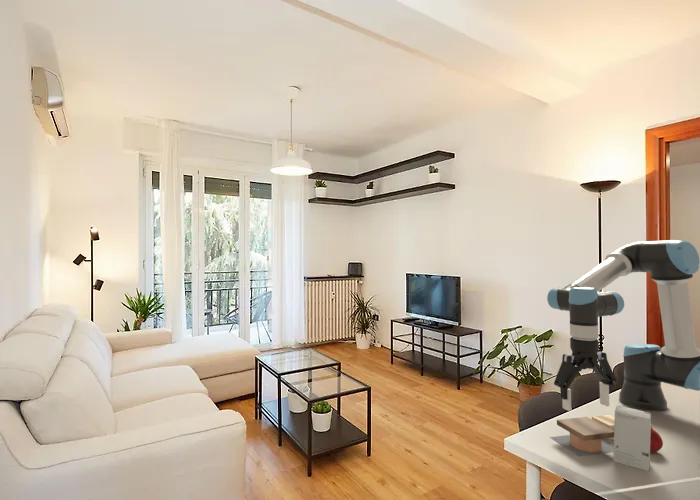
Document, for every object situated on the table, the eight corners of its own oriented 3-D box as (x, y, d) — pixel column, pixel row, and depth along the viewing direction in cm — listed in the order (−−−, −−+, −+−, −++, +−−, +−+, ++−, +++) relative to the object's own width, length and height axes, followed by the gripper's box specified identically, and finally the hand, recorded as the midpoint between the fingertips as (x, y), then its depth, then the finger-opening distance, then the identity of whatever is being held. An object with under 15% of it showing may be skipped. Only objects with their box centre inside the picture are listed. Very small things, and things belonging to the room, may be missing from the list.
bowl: (586, 437, 123) (586, 423, 123) (608, 450, 115) (608, 435, 115) (564, 440, 122) (563, 426, 122) (585, 453, 114) (584, 438, 114)
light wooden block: (609, 429, 130) (609, 414, 130) (628, 439, 124) (628, 423, 124) (592, 431, 129) (591, 416, 129) (610, 441, 122) (609, 425, 122)
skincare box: (613, 463, 109) (612, 410, 110) (615, 454, 114) (615, 404, 114) (650, 473, 104) (649, 418, 104) (651, 464, 109) (651, 411, 109)
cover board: (586, 421, 125) (586, 416, 125) (616, 436, 114) (616, 431, 114) (556, 424, 123) (556, 419, 123) (584, 440, 112) (584, 435, 112)
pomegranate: (667, 459, 111) (667, 431, 112) (644, 457, 113) (644, 429, 113) (655, 449, 117) (655, 422, 117) (634, 447, 118) (634, 421, 118)
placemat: (591, 434, 127) (591, 432, 127) (624, 452, 115) (624, 450, 115) (549, 439, 124) (549, 437, 124) (578, 458, 112) (578, 456, 112)
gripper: (607, 332, 125) (609, 398, 125) (540, 338, 120) (542, 406, 120) (628, 337, 118) (630, 407, 118) (557, 343, 113) (559, 416, 113)
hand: (586, 407), depth 119 cm, fingers open, 13 cm apart
